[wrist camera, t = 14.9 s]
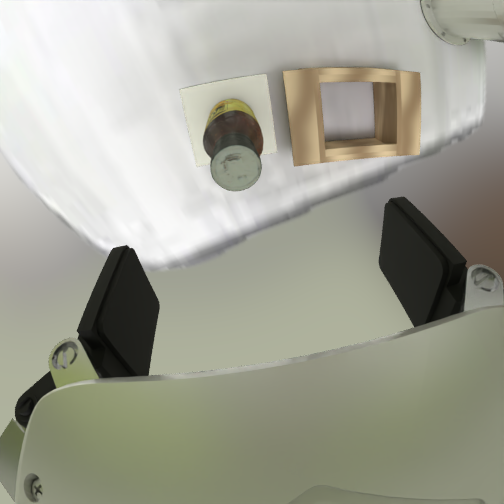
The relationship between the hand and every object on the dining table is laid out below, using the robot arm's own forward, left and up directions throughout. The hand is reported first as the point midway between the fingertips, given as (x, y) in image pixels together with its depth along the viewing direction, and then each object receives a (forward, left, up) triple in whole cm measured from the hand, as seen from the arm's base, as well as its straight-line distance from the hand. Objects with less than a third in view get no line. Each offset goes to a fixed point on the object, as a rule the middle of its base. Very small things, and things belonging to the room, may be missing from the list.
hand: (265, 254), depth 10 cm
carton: (-16, +1, -34) cm, 38 cm away
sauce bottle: (+1, +1, -33) cm, 33 cm away
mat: (+1, +1, -34) cm, 34 cm away
